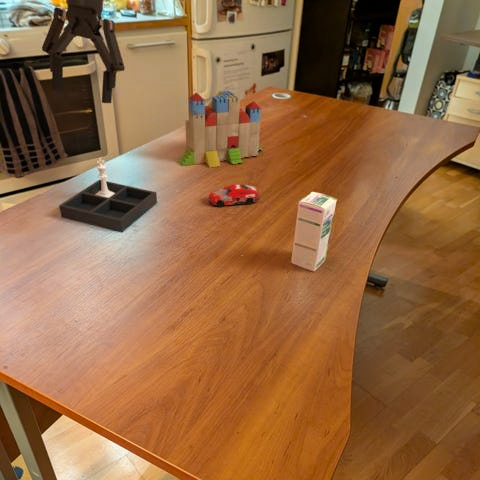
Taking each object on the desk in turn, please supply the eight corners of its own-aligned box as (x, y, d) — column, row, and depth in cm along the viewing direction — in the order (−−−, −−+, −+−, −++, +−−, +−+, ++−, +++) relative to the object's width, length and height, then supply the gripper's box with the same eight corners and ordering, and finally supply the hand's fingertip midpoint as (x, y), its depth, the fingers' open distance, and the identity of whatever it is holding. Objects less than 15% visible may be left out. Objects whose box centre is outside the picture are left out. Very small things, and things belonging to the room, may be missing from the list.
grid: (61, 216, 108) (58, 205, 106) (101, 190, 120) (99, 179, 118) (122, 232, 104) (120, 220, 102) (157, 202, 116) (156, 192, 114)
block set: (253, 144, 152) (257, 80, 139) (273, 159, 142) (279, 92, 130) (171, 153, 142) (168, 85, 130) (186, 170, 132) (185, 99, 120)
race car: (210, 208, 115) (210, 193, 113) (206, 199, 119) (206, 184, 117) (260, 204, 119) (261, 189, 116) (254, 195, 123) (255, 180, 120)
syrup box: (314, 272, 96) (326, 208, 86) (289, 263, 98) (298, 199, 89) (325, 260, 100) (338, 198, 90) (301, 251, 102) (311, 190, 92)
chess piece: (94, 194, 116) (88, 155, 110) (114, 192, 118) (109, 153, 111) (97, 203, 113) (90, 163, 106) (117, 200, 114) (112, 161, 108)
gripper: (145, 1, 98) (136, 108, 108) (48, -20, 103) (48, 83, 114) (126, -5, 92) (118, 109, 102) (23, -28, 97) (26, 83, 107)
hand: (81, 96), depth 108 cm, fingers open, 13 cm apart
